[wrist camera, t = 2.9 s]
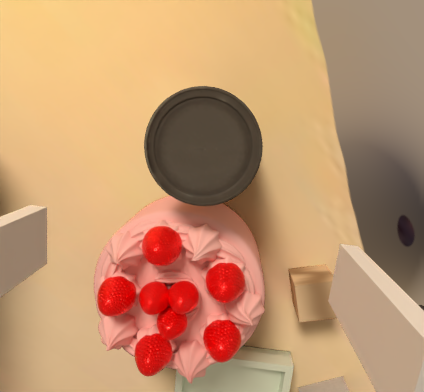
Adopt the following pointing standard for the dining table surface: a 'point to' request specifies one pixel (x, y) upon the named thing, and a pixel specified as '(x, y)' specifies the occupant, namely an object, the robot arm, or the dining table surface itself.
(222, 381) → the tray
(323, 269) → the oak block
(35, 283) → the dining table surface
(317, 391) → the tea bag
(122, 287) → the cake
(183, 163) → the coffee can
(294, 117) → the dining table surface
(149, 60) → the dining table surface
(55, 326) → the dining table surface
